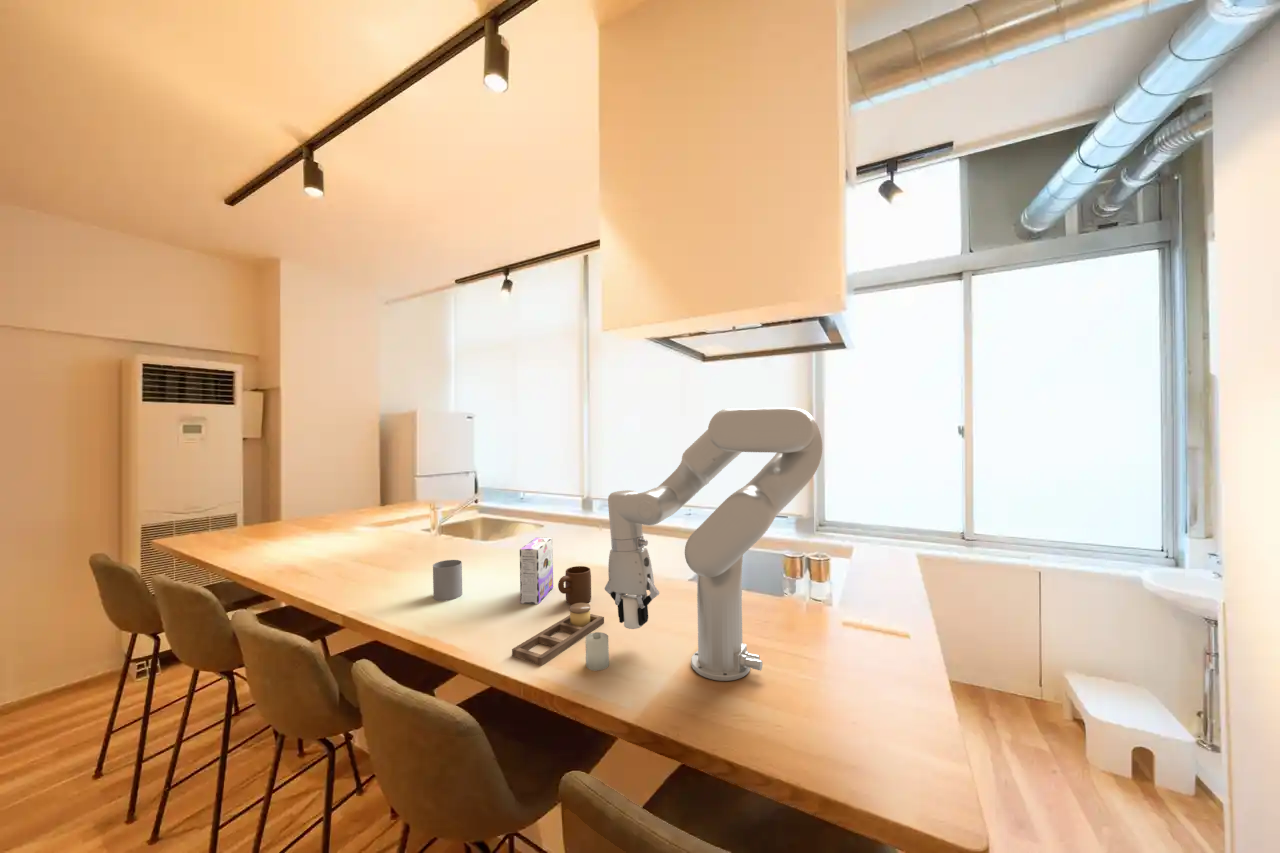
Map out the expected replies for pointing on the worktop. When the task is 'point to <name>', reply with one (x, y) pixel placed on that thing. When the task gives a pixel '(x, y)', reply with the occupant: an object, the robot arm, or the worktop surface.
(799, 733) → the worktop surface
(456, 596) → the cup
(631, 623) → the cylinder
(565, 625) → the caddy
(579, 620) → the honey jar
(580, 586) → the mug
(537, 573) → the candy box
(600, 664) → the sugar pot
